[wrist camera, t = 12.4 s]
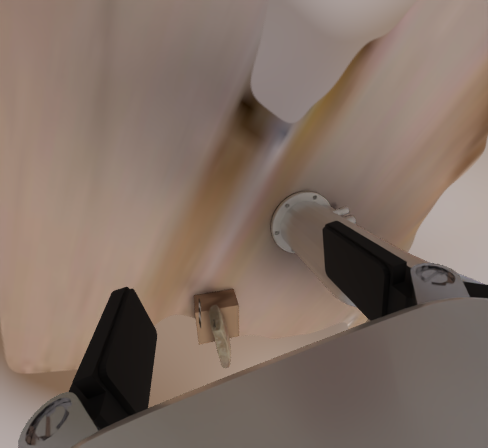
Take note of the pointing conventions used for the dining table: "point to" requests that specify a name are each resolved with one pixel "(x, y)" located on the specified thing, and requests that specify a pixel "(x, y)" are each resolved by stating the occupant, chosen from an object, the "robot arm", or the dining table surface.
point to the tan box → (228, 309)
